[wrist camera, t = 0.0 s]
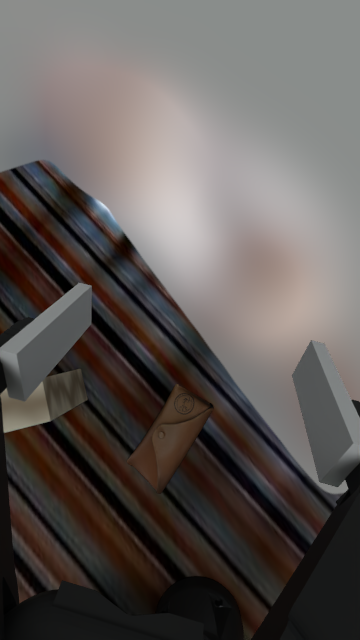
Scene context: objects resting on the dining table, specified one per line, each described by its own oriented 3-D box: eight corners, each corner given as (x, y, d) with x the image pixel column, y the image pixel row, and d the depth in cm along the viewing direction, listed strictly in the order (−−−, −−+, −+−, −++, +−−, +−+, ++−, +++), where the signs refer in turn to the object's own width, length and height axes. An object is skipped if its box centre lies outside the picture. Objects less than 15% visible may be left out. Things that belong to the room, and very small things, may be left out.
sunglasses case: (174, 380, 52) (190, 396, 46) (201, 393, 55) (219, 410, 49) (123, 464, 51) (132, 491, 45) (153, 473, 54) (166, 499, 48)
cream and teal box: (88, 401, 52) (51, 423, 38) (52, 410, 52) (2, 435, 38) (80, 368, 53) (41, 378, 39) (45, 377, 53) (-7, 390, 39)
